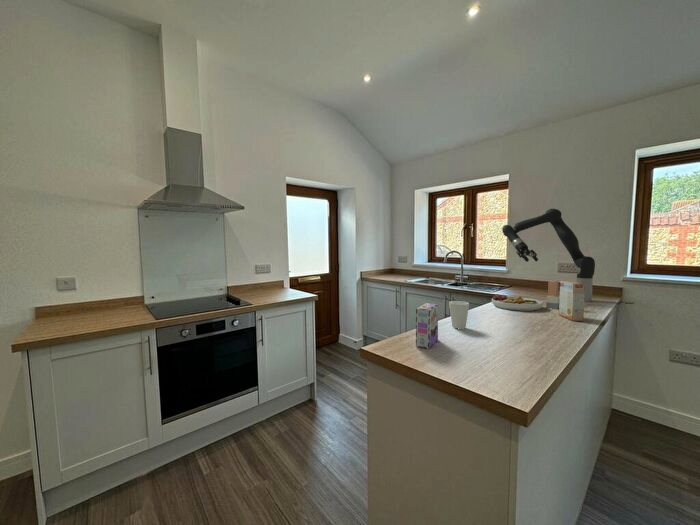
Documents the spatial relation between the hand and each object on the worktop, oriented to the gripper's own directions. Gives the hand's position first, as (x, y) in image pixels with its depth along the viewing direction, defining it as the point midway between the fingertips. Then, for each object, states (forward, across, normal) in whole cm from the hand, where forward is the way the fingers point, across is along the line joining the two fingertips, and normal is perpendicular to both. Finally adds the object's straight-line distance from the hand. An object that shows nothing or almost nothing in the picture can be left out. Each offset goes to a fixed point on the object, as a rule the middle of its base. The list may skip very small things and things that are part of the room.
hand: (532, 260), depth 208 cm
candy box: (+61, -119, -18) cm, 135 cm away
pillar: (+29, -3, +3) cm, 29 cm away
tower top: (+32, -3, +6) cm, 33 cm away
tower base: (+35, -3, +8) cm, 36 cm away
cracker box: (+52, -19, -8) cm, 56 cm away
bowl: (+28, -23, +16) cm, 39 cm away
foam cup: (+50, -91, -6) cm, 104 cm away
